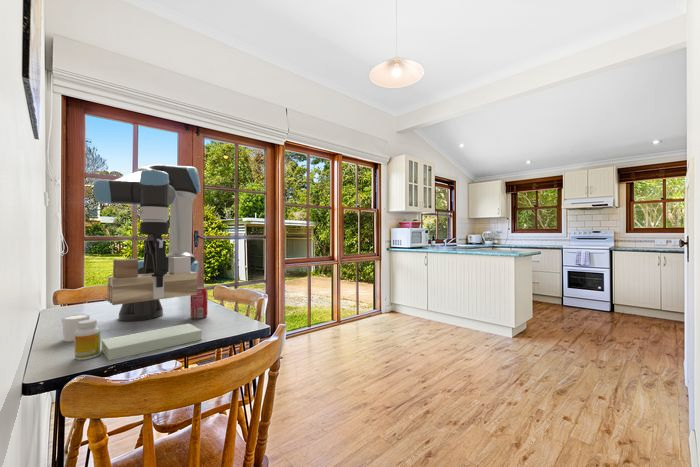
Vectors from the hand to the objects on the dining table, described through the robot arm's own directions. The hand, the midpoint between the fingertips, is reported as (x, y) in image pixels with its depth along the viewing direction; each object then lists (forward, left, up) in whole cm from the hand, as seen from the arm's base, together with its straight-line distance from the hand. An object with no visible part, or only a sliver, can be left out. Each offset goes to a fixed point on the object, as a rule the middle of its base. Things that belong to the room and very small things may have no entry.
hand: (154, 296), depth 98 cm
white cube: (0, +7, +7) cm, 10 cm away
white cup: (-24, -16, -15) cm, 33 cm away
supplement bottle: (-2, -16, -15) cm, 22 cm away
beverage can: (-23, +22, -15) cm, 36 cm away
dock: (0, 0, -15) cm, 15 cm away
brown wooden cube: (0, -7, +7) cm, 10 cm away
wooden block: (0, 0, 0) cm, 0 cm away
